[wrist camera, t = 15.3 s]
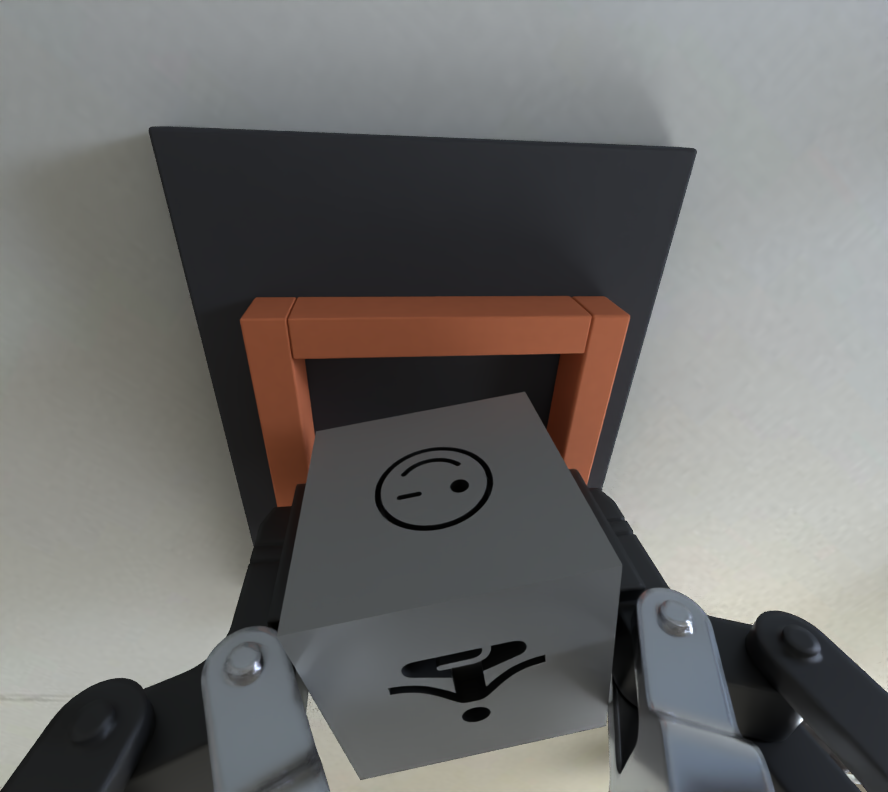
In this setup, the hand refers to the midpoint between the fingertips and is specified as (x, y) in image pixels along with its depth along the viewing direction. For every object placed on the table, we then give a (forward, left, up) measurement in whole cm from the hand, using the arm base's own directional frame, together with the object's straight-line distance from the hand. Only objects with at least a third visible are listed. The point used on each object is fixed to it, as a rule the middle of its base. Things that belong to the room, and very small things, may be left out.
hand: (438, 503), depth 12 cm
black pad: (0, 0, -4) cm, 4 cm away
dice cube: (0, 0, -1) cm, 1 cm away
